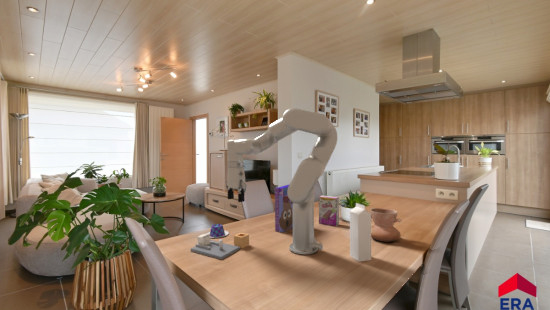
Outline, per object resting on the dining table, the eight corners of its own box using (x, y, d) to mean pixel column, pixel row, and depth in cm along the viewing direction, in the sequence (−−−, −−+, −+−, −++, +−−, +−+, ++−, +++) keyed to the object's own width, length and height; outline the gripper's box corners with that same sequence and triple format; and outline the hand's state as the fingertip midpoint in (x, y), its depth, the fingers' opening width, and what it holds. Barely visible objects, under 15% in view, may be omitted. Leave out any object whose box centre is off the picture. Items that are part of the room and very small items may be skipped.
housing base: (239, 249, 112) (239, 237, 112) (221, 259, 101) (221, 247, 101) (210, 242, 121) (210, 231, 121) (190, 251, 110) (190, 239, 110)
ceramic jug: (408, 240, 121) (407, 210, 121) (394, 247, 111) (394, 215, 112) (373, 231, 135) (372, 205, 135) (358, 237, 125) (358, 209, 125)
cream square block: (210, 243, 115) (210, 234, 115) (203, 246, 112) (203, 236, 112) (204, 242, 117) (204, 232, 117) (197, 245, 114) (197, 235, 114)
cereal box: (282, 232, 134) (282, 188, 133) (275, 231, 136) (274, 187, 136) (297, 224, 149) (296, 184, 148) (290, 223, 151) (289, 183, 151)
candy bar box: (318, 223, 149) (318, 196, 149) (321, 221, 153) (321, 195, 153) (336, 226, 143) (336, 198, 143) (339, 224, 147) (339, 196, 147)
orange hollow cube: (249, 244, 117) (249, 234, 117) (242, 248, 113) (242, 237, 113) (240, 242, 120) (240, 232, 119) (234, 246, 115) (233, 235, 115)
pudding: (227, 238, 126) (227, 228, 126) (203, 239, 125) (203, 229, 125) (229, 231, 138) (229, 221, 138) (207, 231, 137) (207, 222, 137)
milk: (358, 262, 98) (358, 206, 97) (349, 255, 104) (349, 203, 103) (371, 259, 100) (371, 205, 99) (362, 253, 105) (361, 202, 105)
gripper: (251, 165, 117) (252, 201, 117) (232, 164, 130) (233, 196, 130) (238, 166, 112) (238, 204, 112) (219, 164, 125) (220, 198, 125)
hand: (235, 200), depth 121 cm, fingers open, 9 cm apart
